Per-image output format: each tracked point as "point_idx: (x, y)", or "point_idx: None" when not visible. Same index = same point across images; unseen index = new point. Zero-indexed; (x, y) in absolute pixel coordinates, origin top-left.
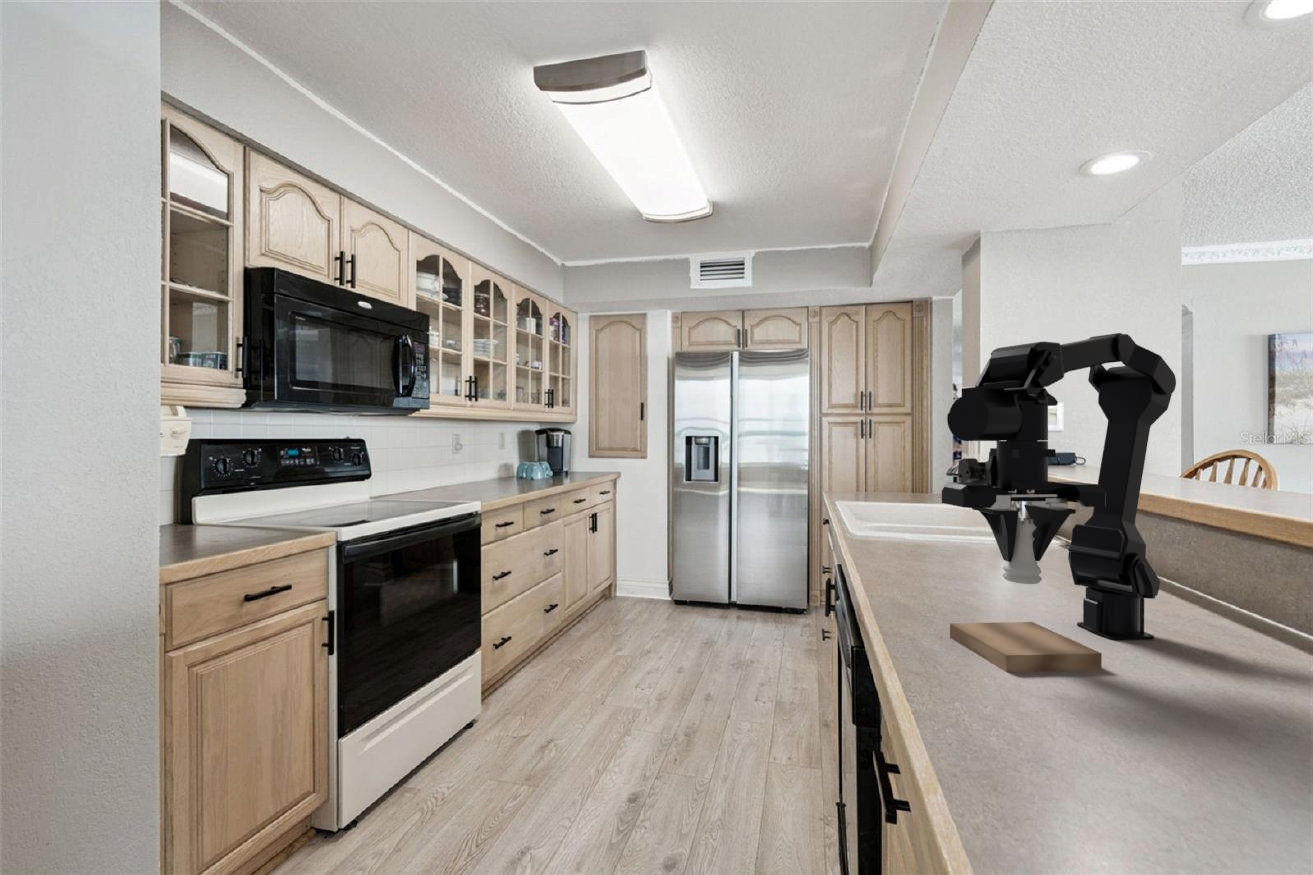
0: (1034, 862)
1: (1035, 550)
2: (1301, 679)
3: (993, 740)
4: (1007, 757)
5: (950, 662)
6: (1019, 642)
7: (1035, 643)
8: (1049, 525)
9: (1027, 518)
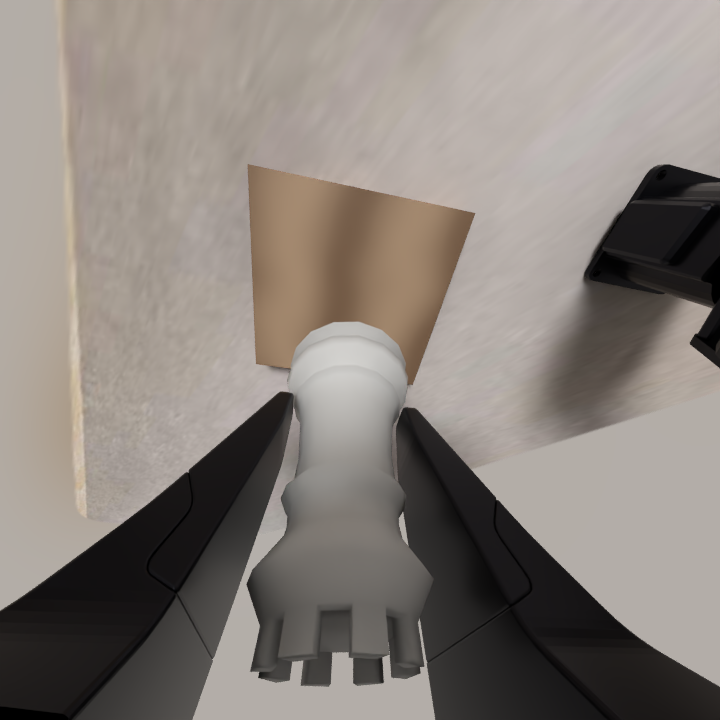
0: None
1: (404, 455)
2: (594, 429)
3: (154, 456)
4: (154, 472)
5: (191, 301)
6: (323, 323)
7: None
8: (426, 652)
9: (421, 664)
